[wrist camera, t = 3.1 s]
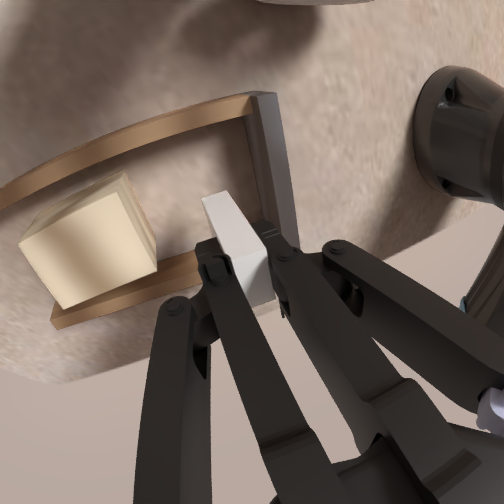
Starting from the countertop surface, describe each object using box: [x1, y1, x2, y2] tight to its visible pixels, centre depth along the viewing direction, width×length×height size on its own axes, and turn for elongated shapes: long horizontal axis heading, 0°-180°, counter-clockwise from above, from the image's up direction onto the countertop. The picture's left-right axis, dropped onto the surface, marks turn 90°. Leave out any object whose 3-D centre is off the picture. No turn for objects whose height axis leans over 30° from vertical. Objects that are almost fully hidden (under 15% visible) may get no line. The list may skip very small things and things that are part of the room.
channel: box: [0, 91, 300, 330], centre depth 20 cm, size 21×12×4 cm, turn 101°
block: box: [18, 170, 157, 310], centre depth 19 cm, size 8×6×5 cm
